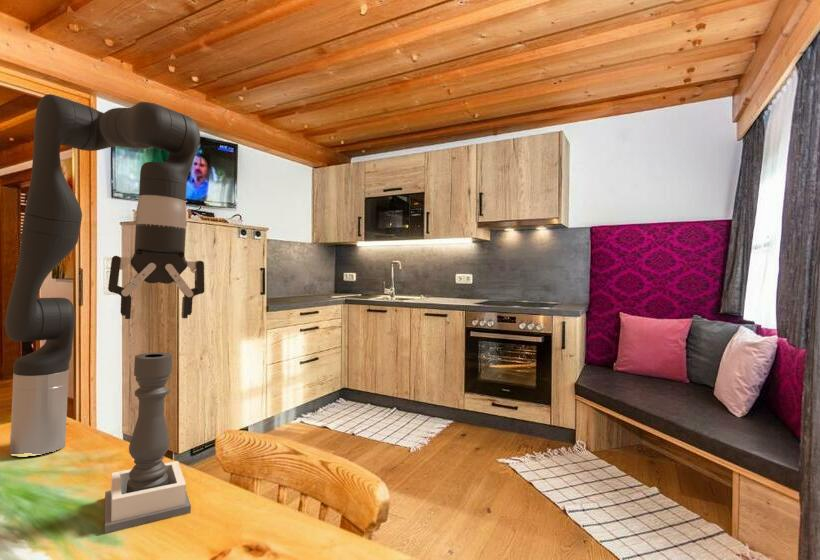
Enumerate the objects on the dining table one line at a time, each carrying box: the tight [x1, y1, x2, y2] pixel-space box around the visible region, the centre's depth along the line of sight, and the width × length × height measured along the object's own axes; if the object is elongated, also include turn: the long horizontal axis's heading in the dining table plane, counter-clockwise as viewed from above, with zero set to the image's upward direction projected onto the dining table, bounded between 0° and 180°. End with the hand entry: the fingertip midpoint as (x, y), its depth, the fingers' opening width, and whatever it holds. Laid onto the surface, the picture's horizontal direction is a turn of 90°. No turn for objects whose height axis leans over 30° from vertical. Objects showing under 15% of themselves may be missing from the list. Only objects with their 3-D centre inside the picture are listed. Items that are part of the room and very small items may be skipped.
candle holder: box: [127, 352, 173, 493], centre depth 75 cm, size 6×6×25 cm
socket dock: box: [104, 460, 192, 534], centre depth 75 cm, size 12×12×5 cm
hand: (156, 318), depth 75 cm, fingers open, 8 cm apart
